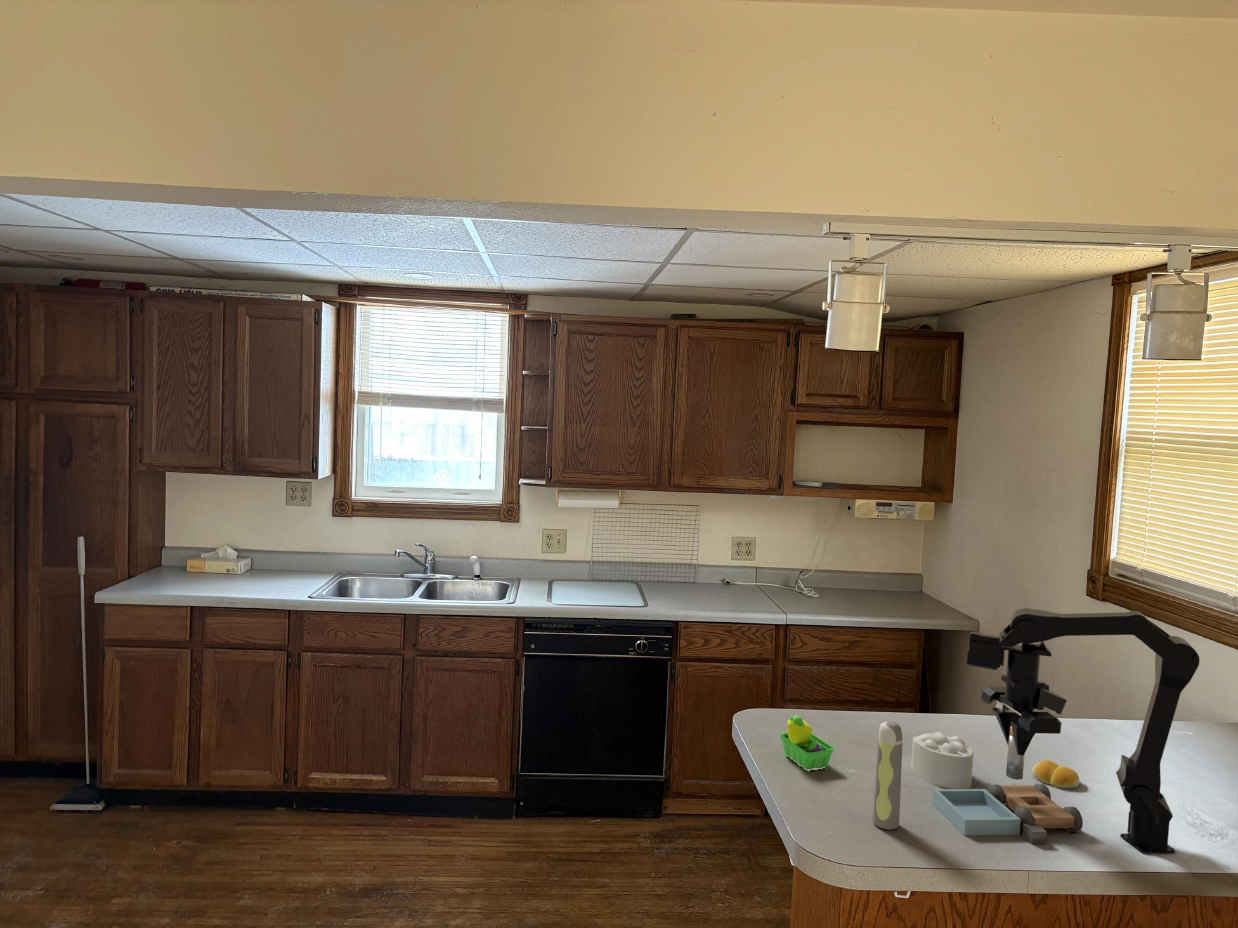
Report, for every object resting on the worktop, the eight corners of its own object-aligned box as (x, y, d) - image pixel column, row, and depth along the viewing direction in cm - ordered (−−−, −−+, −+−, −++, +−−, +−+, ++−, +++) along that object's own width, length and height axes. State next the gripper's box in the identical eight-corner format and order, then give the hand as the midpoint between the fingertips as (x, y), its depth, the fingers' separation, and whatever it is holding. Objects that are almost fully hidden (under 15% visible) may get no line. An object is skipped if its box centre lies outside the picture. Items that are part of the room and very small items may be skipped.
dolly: (1091, 843, 158) (1093, 820, 158) (1031, 844, 157) (1033, 821, 157) (1037, 800, 176) (1039, 780, 175) (983, 801, 174) (984, 780, 174)
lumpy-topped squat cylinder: (940, 762, 194) (943, 725, 194) (984, 786, 182) (986, 747, 182) (904, 768, 190) (906, 730, 190) (946, 792, 178) (948, 752, 178)
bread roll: (1070, 793, 180) (1071, 775, 180) (1027, 779, 187) (1028, 761, 187) (1085, 783, 186) (1086, 765, 185) (1043, 769, 192) (1044, 752, 192)
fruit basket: (835, 770, 187) (837, 720, 187) (801, 775, 184) (803, 725, 184) (805, 751, 198) (807, 703, 197) (772, 755, 195) (775, 707, 194)
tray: (1019, 834, 161) (1020, 819, 161) (964, 835, 160) (965, 819, 160) (983, 803, 174) (984, 788, 174) (932, 803, 173) (933, 789, 173)
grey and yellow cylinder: (878, 816, 166) (883, 716, 165) (902, 824, 163) (908, 722, 162) (868, 824, 163) (873, 723, 161) (893, 833, 160) (898, 729, 158)
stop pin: (1025, 779, 166) (1029, 729, 165) (1011, 779, 166) (1015, 729, 165) (1017, 772, 169) (1021, 724, 168) (1002, 772, 169) (1006, 723, 168)
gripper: (1091, 690, 157) (1084, 772, 158) (1034, 660, 176) (1028, 733, 177) (1034, 689, 156) (1027, 771, 157) (983, 659, 175) (977, 732, 176)
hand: (1016, 751), depth 167 cm, fingers closed on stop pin, 3 cm apart
